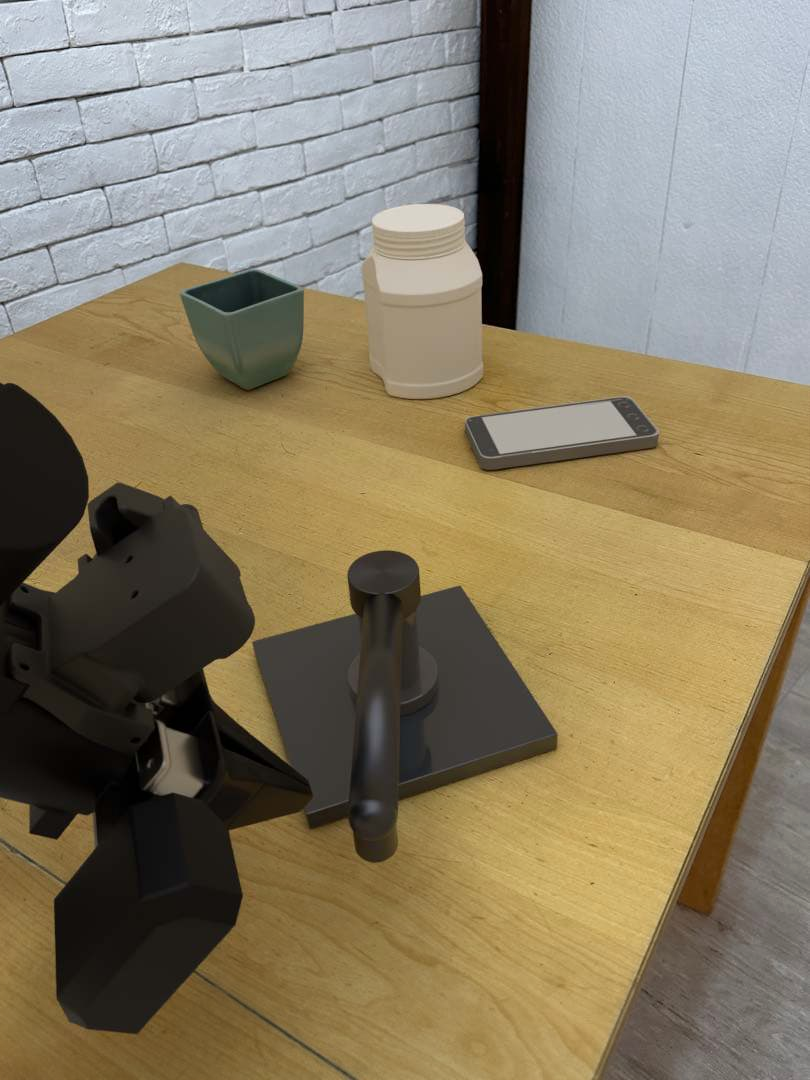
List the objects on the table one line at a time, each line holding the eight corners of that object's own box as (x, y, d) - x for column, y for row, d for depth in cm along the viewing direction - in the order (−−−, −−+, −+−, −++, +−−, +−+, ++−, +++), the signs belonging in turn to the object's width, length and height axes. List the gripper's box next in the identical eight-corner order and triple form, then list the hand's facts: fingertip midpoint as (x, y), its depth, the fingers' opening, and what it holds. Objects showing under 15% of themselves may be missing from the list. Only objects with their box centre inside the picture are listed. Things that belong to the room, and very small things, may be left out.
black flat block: (309, 829, 46) (290, 732, 42) (254, 655, 57) (235, 564, 53) (557, 749, 49) (562, 651, 45) (460, 598, 60) (458, 509, 56)
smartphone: (662, 434, 74) (482, 459, 72) (660, 446, 74) (482, 471, 73) (629, 395, 80) (462, 417, 78) (628, 406, 80) (463, 428, 79)
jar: (363, 359, 92) (349, 208, 83) (451, 342, 94) (447, 193, 85) (396, 407, 83) (384, 243, 74) (493, 387, 85) (492, 226, 76)
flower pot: (317, 374, 90) (306, 286, 85) (242, 405, 85) (226, 314, 80) (267, 350, 95) (254, 266, 90) (195, 378, 91) (176, 291, 86)
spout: (354, 592, 51) (349, 551, 49) (421, 589, 51) (419, 548, 49) (328, 866, 37) (320, 821, 35) (422, 864, 36) (418, 819, 35)
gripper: (66, 699, 19) (530, 849, 28) (49, 364, 34) (359, 533, 43) (-174, 1018, 22) (317, 1063, 31) (-94, 581, 37) (225, 698, 46)
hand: (305, 797), depth 38 cm, fingers closed
